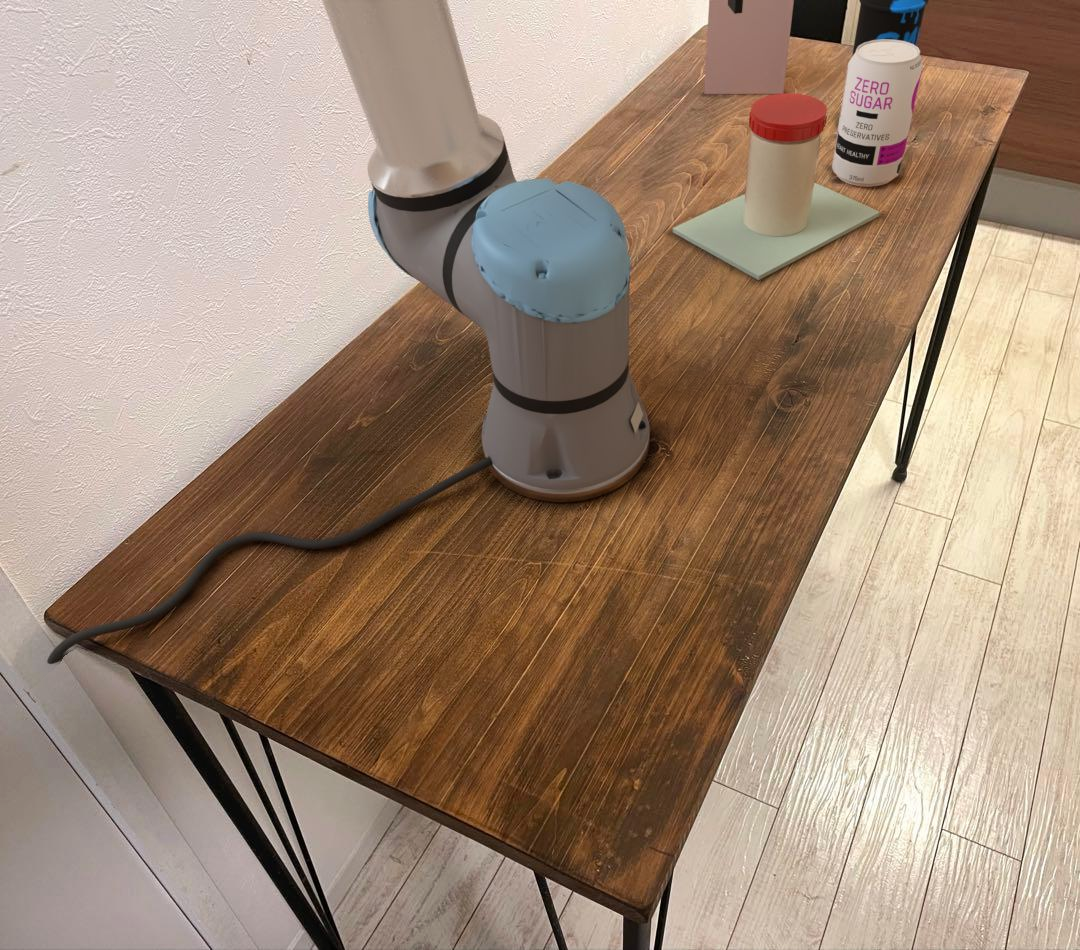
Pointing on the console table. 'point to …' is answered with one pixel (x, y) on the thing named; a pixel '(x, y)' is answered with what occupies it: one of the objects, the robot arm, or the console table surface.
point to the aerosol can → (889, 21)
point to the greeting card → (747, 47)
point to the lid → (788, 117)
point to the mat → (768, 254)
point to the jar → (779, 185)
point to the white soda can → (876, 112)
